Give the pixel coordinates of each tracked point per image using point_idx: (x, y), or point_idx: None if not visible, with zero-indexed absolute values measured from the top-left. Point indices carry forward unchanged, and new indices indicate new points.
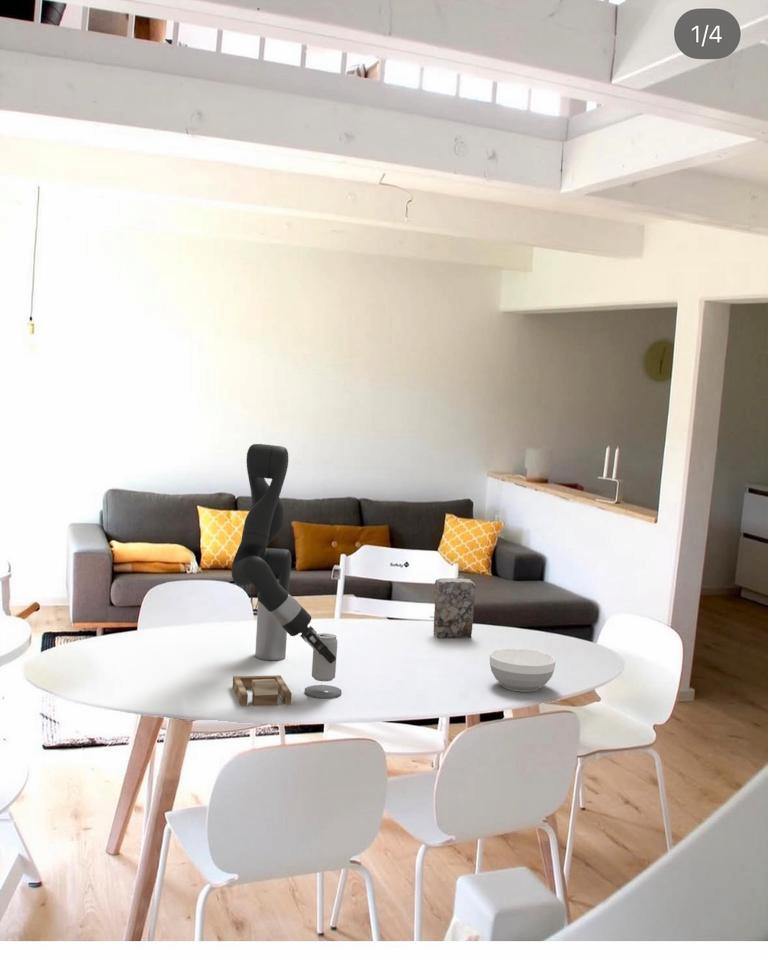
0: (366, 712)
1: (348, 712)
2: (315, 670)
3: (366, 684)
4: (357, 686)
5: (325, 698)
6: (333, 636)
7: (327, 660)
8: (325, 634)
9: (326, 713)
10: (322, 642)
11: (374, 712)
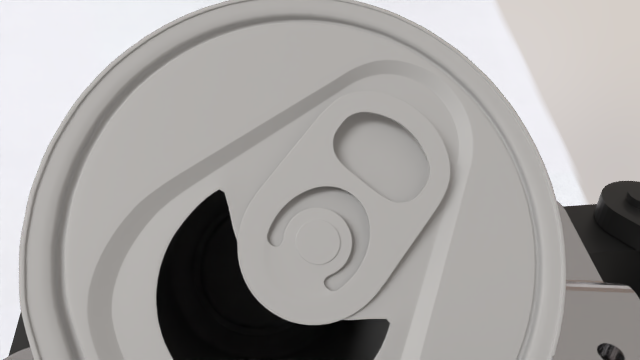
0: (505, 44)
1: (529, 119)
2: (345, 329)
3: (17, 19)
4: (71, 70)
5: None
6: (331, 54)
7: None
8: (125, 264)
9: None
10: (577, 281)
11: (495, 12)
